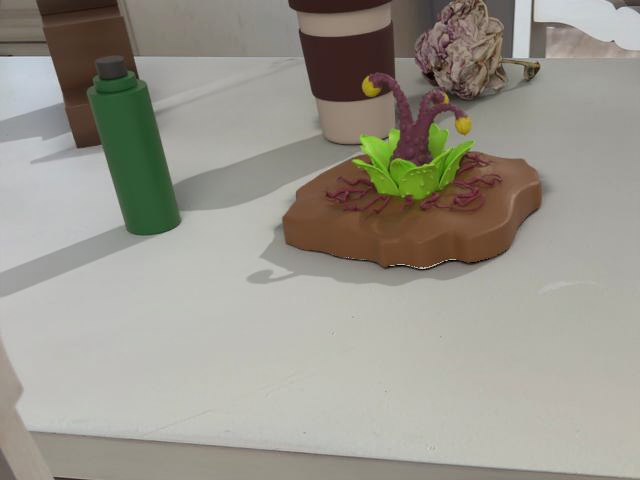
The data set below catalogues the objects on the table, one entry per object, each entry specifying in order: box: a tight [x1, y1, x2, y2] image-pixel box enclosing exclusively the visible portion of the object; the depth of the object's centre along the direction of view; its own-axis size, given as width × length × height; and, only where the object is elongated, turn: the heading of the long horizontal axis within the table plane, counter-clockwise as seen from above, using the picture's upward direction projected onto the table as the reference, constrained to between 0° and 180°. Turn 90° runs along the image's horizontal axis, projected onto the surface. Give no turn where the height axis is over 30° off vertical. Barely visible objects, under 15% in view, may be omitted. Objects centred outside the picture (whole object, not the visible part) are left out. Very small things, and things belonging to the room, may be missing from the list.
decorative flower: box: [413, 0, 541, 101], centre depth 108 cm, size 10×10×15 cm
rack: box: [35, 0, 140, 149], centre depth 105 cm, size 13×8×12 cm, turn 20°
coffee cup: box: [287, 0, 397, 145], centre depth 97 cm, size 10×10×15 cm
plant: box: [281, 72, 543, 268], centre depth 80 cm, size 20×20×11 cm
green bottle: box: [87, 56, 182, 236], centre depth 82 cm, size 5×5×13 cm
